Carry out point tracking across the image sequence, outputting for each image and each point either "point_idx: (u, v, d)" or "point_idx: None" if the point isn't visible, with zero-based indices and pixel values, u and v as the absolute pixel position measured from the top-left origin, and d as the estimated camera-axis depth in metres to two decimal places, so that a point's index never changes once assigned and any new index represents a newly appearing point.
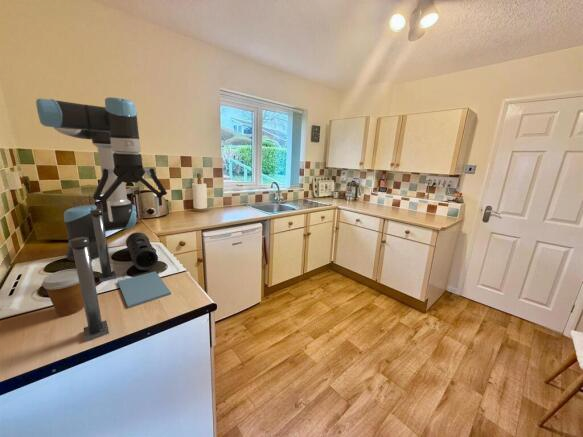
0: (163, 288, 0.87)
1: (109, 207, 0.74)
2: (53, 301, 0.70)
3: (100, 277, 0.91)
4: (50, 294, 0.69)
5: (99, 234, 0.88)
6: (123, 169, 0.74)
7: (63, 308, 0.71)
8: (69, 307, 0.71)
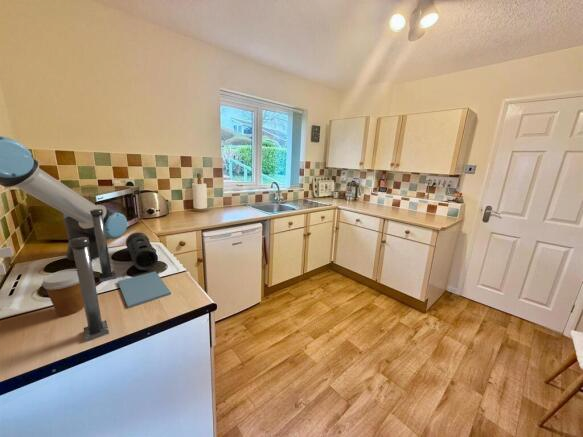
0: (163, 288, 0.87)
1: None
2: (53, 301, 0.70)
3: (100, 277, 0.91)
4: (50, 294, 0.69)
5: (99, 234, 0.88)
6: None
7: (63, 308, 0.71)
8: (69, 307, 0.71)
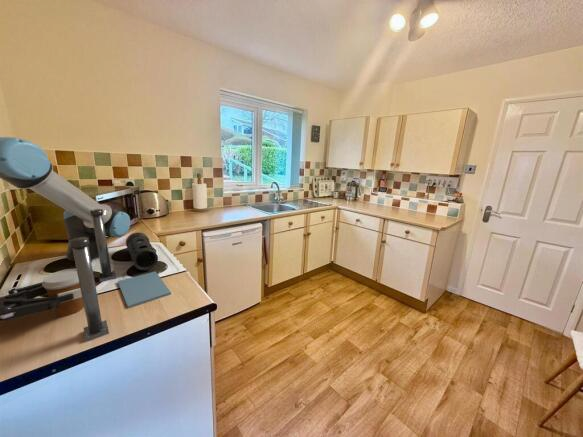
0: (163, 288, 0.87)
1: None
2: None
3: (100, 277, 0.91)
4: (50, 294, 0.69)
5: (99, 234, 0.88)
6: None
7: (63, 308, 0.71)
8: (69, 307, 0.71)
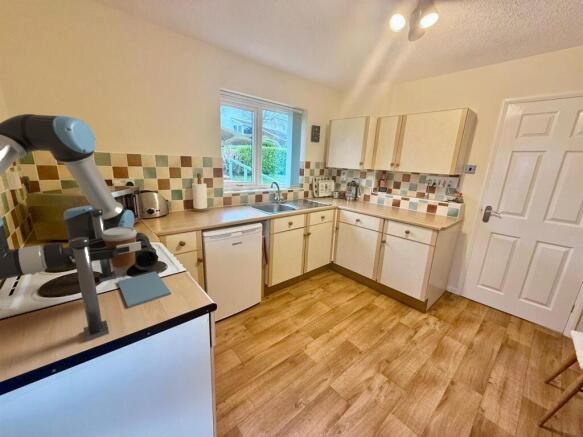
0: (163, 288, 0.87)
1: None
2: None
3: (100, 277, 0.91)
4: (109, 246, 0.75)
5: (99, 234, 0.88)
6: None
7: (119, 260, 0.77)
8: (124, 260, 0.78)
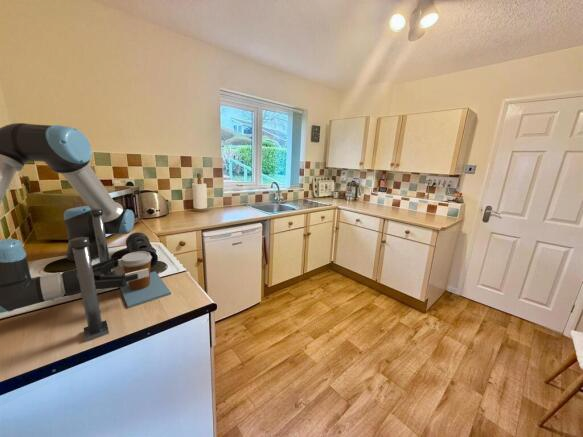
0: (163, 288, 0.87)
1: None
2: None
3: None
4: (127, 271, 0.82)
5: (99, 234, 0.88)
6: None
7: (137, 283, 0.84)
8: (141, 282, 0.85)
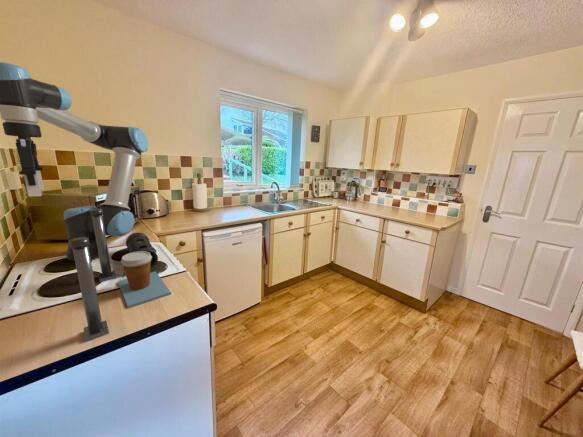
0: (163, 288, 0.87)
1: None
2: (129, 277, 0.83)
3: (100, 277, 0.91)
4: (127, 271, 0.82)
5: (99, 234, 0.88)
6: None
7: (136, 283, 0.84)
8: (141, 282, 0.85)
